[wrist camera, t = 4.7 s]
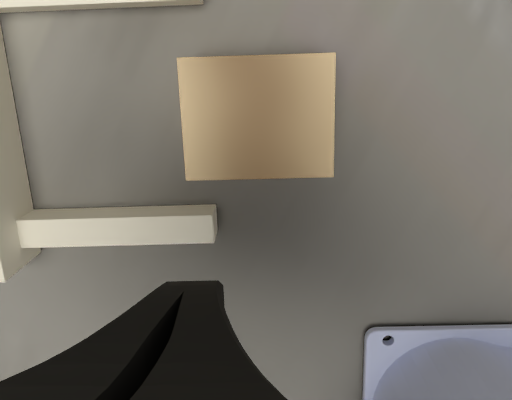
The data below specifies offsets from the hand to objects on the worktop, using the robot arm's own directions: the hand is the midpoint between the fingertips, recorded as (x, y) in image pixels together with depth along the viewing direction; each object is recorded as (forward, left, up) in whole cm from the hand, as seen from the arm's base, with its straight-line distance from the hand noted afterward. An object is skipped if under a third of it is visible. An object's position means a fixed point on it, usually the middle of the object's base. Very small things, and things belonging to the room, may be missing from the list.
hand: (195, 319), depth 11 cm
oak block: (-1, -4, -10) cm, 11 cm away
